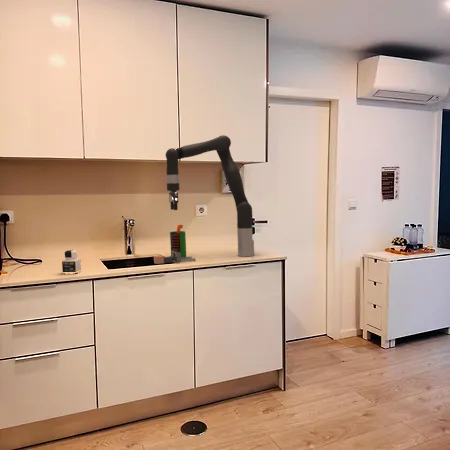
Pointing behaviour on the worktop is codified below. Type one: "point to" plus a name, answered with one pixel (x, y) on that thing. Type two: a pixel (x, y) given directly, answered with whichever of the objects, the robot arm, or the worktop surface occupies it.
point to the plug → (163, 259)
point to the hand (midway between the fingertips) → (174, 209)
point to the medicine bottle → (71, 262)
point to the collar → (178, 257)
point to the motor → (178, 241)
